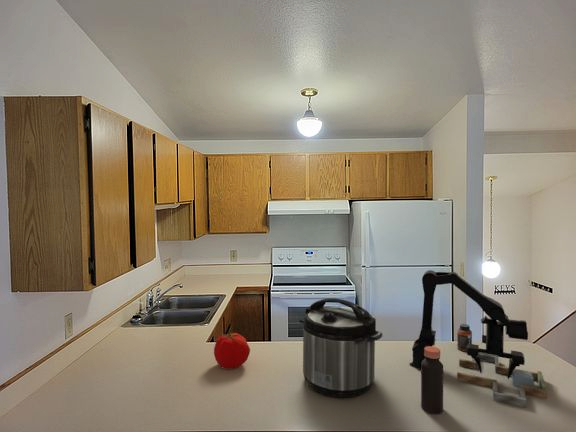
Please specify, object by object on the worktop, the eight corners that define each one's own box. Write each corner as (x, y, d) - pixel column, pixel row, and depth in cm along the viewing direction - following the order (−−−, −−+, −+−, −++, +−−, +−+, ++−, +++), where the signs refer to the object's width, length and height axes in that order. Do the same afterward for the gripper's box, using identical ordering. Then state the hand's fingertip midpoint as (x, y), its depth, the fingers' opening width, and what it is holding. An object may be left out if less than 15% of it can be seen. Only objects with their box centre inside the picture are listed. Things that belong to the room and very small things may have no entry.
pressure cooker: (395, 393, 127) (395, 305, 126) (323, 410, 117) (322, 315, 116) (352, 358, 155) (351, 286, 154) (291, 370, 146) (290, 293, 144)
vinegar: (441, 417, 113) (441, 355, 112) (419, 410, 117) (419, 350, 116) (444, 406, 119) (445, 347, 118) (423, 400, 122) (423, 343, 121)
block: (513, 386, 131) (514, 375, 131) (511, 379, 136) (512, 369, 135) (533, 389, 128) (533, 378, 128) (530, 383, 133) (531, 372, 133)
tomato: (207, 370, 146) (207, 337, 146) (225, 356, 159) (225, 326, 159) (241, 376, 141) (240, 342, 140) (257, 361, 153) (256, 330, 153)
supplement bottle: (473, 352, 160) (473, 327, 159) (459, 351, 161) (459, 327, 160) (469, 347, 166) (469, 323, 165) (455, 346, 167) (456, 322, 166)
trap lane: (455, 391, 127) (455, 382, 127) (460, 355, 157) (460, 347, 157) (551, 413, 114) (551, 402, 114) (537, 369, 143) (537, 360, 143)
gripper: (522, 332, 138) (521, 372, 139) (468, 325, 147) (467, 362, 148) (525, 342, 128) (524, 385, 129) (467, 334, 137) (466, 373, 138)
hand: (494, 375), depth 136 cm, fingers open, 9 cm apart
